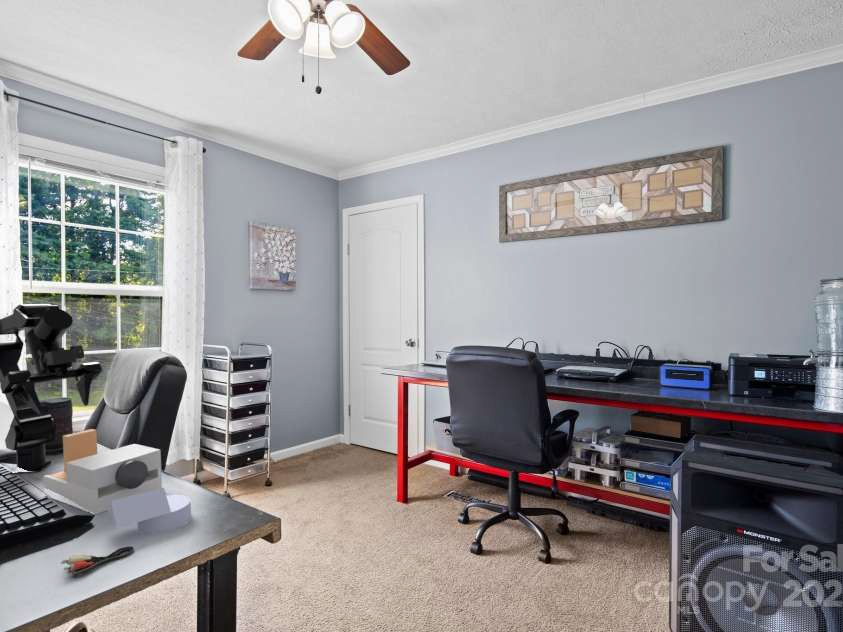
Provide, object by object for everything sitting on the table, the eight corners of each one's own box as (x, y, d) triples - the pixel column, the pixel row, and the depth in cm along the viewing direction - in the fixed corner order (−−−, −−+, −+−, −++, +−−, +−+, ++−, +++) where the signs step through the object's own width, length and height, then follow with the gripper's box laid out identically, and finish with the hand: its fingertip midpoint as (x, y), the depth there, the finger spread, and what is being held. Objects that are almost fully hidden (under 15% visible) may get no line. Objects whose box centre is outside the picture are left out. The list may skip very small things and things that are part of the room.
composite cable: (133, 549, 81) (132, 535, 81) (137, 561, 78) (137, 546, 77) (61, 571, 75) (60, 556, 75) (62, 585, 71) (61, 569, 71)
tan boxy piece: (50, 479, 105) (48, 439, 104) (105, 462, 115) (104, 426, 114) (69, 485, 101) (67, 444, 100) (125, 468, 111) (123, 430, 111)
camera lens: (54, 457, 129) (52, 403, 129) (30, 456, 131) (28, 402, 130) (81, 448, 137) (79, 397, 137) (58, 446, 139) (56, 396, 138)
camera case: (44, 496, 104) (42, 455, 103) (111, 474, 116) (110, 438, 116) (100, 517, 93) (98, 471, 93) (167, 490, 105) (165, 450, 105)
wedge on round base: (117, 547, 82) (197, 522, 90) (116, 508, 81) (196, 487, 90) (108, 528, 88) (183, 507, 97) (106, 493, 88) (182, 474, 97)
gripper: (7, 337, 102) (27, 402, 98) (102, 331, 118) (122, 387, 114) (-9, 361, 107) (9, 424, 104) (84, 352, 123) (102, 406, 120)
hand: (64, 409), depth 110 cm, fingers open, 9 cm apart
